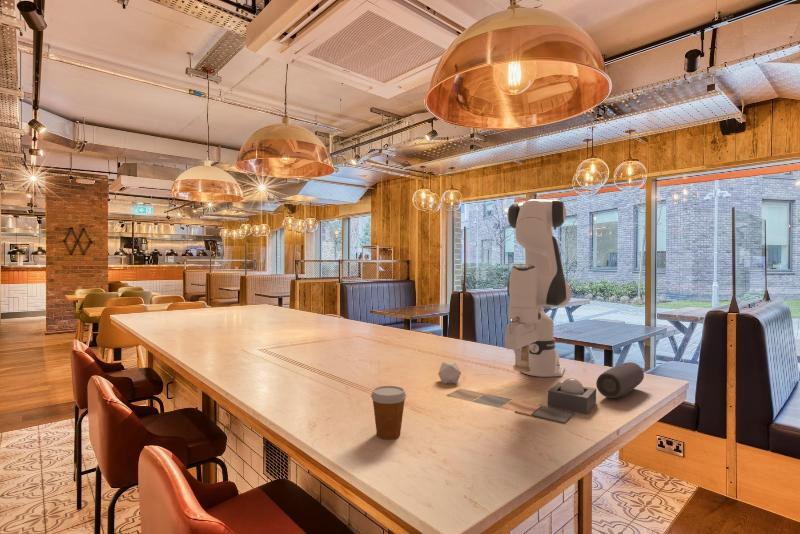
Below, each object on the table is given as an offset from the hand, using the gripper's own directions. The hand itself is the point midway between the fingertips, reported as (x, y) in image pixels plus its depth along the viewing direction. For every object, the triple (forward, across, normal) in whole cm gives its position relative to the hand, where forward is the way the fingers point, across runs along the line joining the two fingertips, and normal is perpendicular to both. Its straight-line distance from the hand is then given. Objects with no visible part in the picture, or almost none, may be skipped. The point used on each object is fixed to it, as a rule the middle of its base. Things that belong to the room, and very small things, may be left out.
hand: (522, 359), depth 139 cm
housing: (+15, +13, -12) cm, 24 cm away
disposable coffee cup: (+16, -42, +21) cm, 49 cm away
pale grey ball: (+14, +13, -12) cm, 22 cm away
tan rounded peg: (+3, 0, 0) cm, 3 cm away
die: (+16, +10, +32) cm, 37 cm away
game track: (+16, 0, +5) cm, 16 cm away
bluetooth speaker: (+16, +36, -22) cm, 45 cm away
